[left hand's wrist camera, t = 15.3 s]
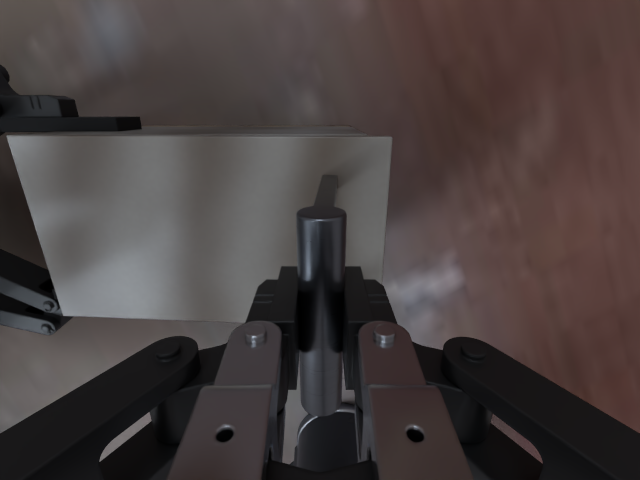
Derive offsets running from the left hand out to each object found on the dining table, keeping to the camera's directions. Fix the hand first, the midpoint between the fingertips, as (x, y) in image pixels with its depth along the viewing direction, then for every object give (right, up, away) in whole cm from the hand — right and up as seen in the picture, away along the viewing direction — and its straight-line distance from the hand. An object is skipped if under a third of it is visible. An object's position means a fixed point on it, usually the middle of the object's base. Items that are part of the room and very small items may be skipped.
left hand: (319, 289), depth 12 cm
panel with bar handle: (-6, +2, +6) cm, 8 cm away
